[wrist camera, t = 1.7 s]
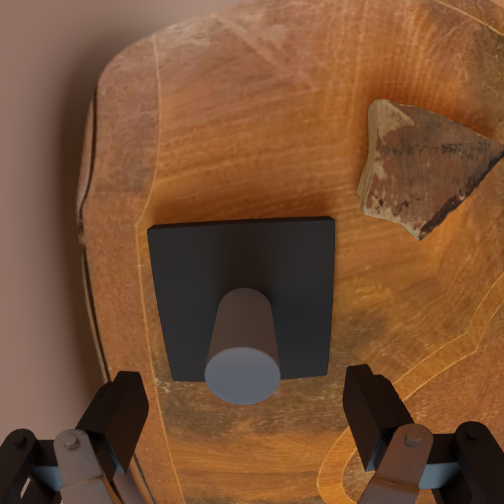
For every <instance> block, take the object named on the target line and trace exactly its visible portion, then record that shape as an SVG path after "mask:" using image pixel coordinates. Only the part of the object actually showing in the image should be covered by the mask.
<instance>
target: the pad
mask: <svg viewBox="0 0 504 504" xmlns="http://www.w3.org/2000/svg"><path fill="white" fill-rule="evenodd" d="M147 235H148V243H149V251H150V259H151V266H152V273H153V280H154V286H155V293H156V299H157V305H158V310H159V316H160V322H161V327H162V332H163V337H164V342H165V347H166V352H167V357H168V361H169V366H170V370H171V375H172V379H173V381H190V382H206V384H207V386H208V387H209V389H210V390H211V391H212V393H213V394H215V395H216V396H217V397H219V398H220V399H222V400H224V401H226V402H230V403H234V404H243V405H245V404H253V403H257V402H260V401H263V400H264V399H266V398H268V397H269V396H270V395H272V394H273V393H274V392H275V390H276V389H277V387H278V385H279V383H280V379H294V378H305V377H316V376H325V375H327V370H328V360H329V348H330V335H331V321H332V305H333V284H334V253H335V220H334V219H333V218H331V217H329V216H319V217H290V218H266V219H244V220H225V221H207V222H191V223H176V224H161V225H153V226H151V227H150V228H148V229H147Z"/></svg>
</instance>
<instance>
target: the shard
mask: <svg viewBox="0 0 504 504" xmlns="http://www.w3.org/2000/svg"><path fill="white" fill-rule="evenodd" d="M368 138H369V141H368V142H369V148H368V157H367V160H366V163H365V165H364V169H363V172H362V174H361V178H360V181H359V184H358V188H357V195H358V196H359V197H360V199H359V201H360V204H361V210H362V212H363V213H364V214H366V215H369V216H373V217H376V218H383V219H385V220H389V221H393V222H396V223H399V224H402V225H403V226H404V227H405V228H406V229H407V230H408V231H409V232H410V233H411V234H412V235H413V236H414V237H415V238H416V239H417V240H418V241H421V240H422V239H424V237H425V236H426V235H427V234H429V233H431V232H432V231H433V229H434V228H436V227H437V226H439V225H440V224H441V223H442V222H443V221H444V220H445V219H446V217H447V215H448V214H449V213H451V212H453V211H454V210H456V208H457V207H458V206H459V205H460V204H461V203H462V202H463V201H464V200H465V199H467V198H468V197H469V196H470V195H471V194H472V193H473V192H474V190H475V189H476V188H477V187H478V186H479V185H480V184H481V183H482V182H483V181H484V179H485V178H486V176H487V175H488V174H489V173H490V171H491V170H492V168H493V167H494V166H495V164H496V163H497V162H499V161H500V159H502V158H503V157H504V145H503V144H500V143H499V142H497V141H495V140H494V139H490V138H487V137H485V136H483V135H481V134H479V133H477V132H475V131H473V130H471V129H470V128H468V127H467V126H465V125H463V124H461V123H459V122H456V121H453V120H451V119H449V118H447V117H446V116H444V115H441V114H438V113H432V112H430V111H428V110H427V109H424V108H420V107H416V106H413V105H410V104H406V105H402V104H399V103H397V102H394V101H392V100H388V99H380V100H377V99H375V100H374V101H373V103H372V104H370V105H369V107H368Z"/></svg>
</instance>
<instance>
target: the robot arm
mask: <svg viewBox="0 0 504 504" xmlns="http://www.w3.org/2000/svg"><path fill="white" fill-rule="evenodd" d="M343 408H344V412H345V415H346V418H347V420H348V423H349V426H350V429H351V432H352V435H353V437H354V440H355V443H356V446H357V449H358V452H359V455H360V458H361V461H362V464H363V466H364V469H365V472H367V471H371V470H375V471H376V472H375V474H374V476H372V478H371V480H370V481H369V483H368V485H367V487H366V489H365V490H364V492H363V494H362V496H361V497H360V499H359V501H358V502H357V504H415V501H416V499H417V496H418V493H419V490H420V489H431V490H432V493H433V495H434V498H435V500H436V503H437V504H504V453H503V451H502V449H501V448H500V446H499V445H498V443H497V442H496V440H495V439H494V437H493V436H492V434H491V432H490V431H489V430H488V428H487V427H486V426H485V425H483V424H482V423H479V422H475V421H468V422H465V423H462V424H461V425H460V426H458V428H457V429H456V432H455V433H450V434H432V432H431V431H430V430H429V429H428V428H427V427H425V426H423V425H420V424H415V423H414V421H413V419H412V417H411V416H410V414H409V412H408V411H407V409H406V407H405V405H404V404H403V402H402V400H401V399H399V395H398V394H397V392H395V389H394V387H393V385H392V384H391V382H390V381H389V380H388V379H386V378H385V377H384V376H382V375H381V374H379V375H374V374H373V373H372V371H371V369H370V367H369V366H368V364H361V365H354V366H348V367H347V371H346V378H345V385H344V391H343ZM148 411H149V404H148V399H147V396H146V393H145V389H144V386H143V382H142V379H141V376H140V374H139V372H132V371H119V372H118V374H117V376H116V377H115V379H114V381H113V382H107V383H106V384H105V385H103V386H102V387H101V388H100V389H99V390H98V392H97V393H96V395H95V398H94V399H93V400H92V402H91V403H90V405H89V407H88V408H87V410H86V411H85V413H84V414H83V416H82V418H81V419H80V421H79V423H78V425H77V426H76V428H75V429H69V430H65V431H63V432H61V433H60V434H58V435H57V437H56V438H55V440H37V439H36V437H35V435H34V434H33V432H31V431H30V430H28V429H17V430H14V431H13V432H11V433H10V434H9V435H8V436H7V437H6V439H5V441H4V442H3V443H2V445H1V447H0V504H60V502H61V500H63V503H64V504H126V503H125V501H124V499H123V497H122V495H121V494H120V491H119V489H118V487H117V485H116V483H115V481H114V480H113V477H114V474H115V472H117V473H122V474H126V472H127V469H128V467H129V464H130V461H131V458H132V456H133V453H134V450H135V448H136V445H137V442H138V439H139V437H140V434H141V432H142V429H143V426H144V424H145V421H146V418H147V416H148ZM28 477H29V479H30V482H29V484H28V486H27V489H26V491H25V493H24V495H23V497H22V499H21V496H20V495H21V491H22V489H23V487H24V484H25V483H26V481H27V479H28Z"/></svg>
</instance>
